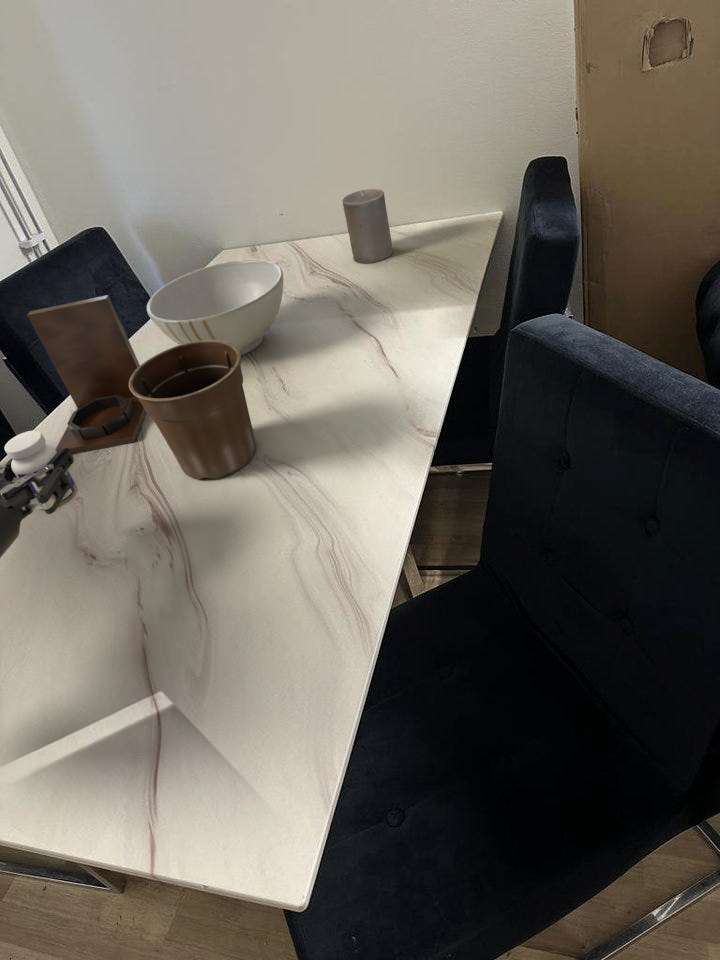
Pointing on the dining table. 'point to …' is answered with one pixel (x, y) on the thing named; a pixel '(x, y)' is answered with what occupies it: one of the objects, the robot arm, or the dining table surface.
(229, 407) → the plant pot
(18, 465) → the pill bottle
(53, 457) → the robot arm
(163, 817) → the dining table surface
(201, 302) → the decorative bowl
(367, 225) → the pillar candle
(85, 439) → the stand
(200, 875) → the dining table surface
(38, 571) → the dining table surface
